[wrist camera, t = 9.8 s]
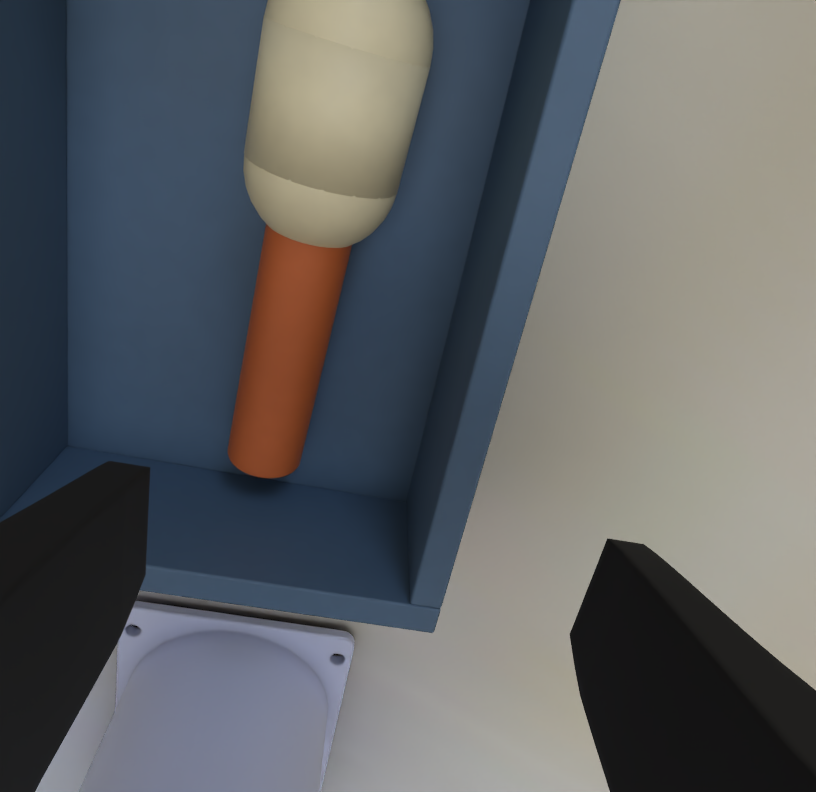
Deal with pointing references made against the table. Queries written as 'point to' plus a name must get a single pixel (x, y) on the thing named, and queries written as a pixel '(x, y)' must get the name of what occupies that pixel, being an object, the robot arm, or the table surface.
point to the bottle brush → (318, 193)
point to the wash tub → (236, 279)
